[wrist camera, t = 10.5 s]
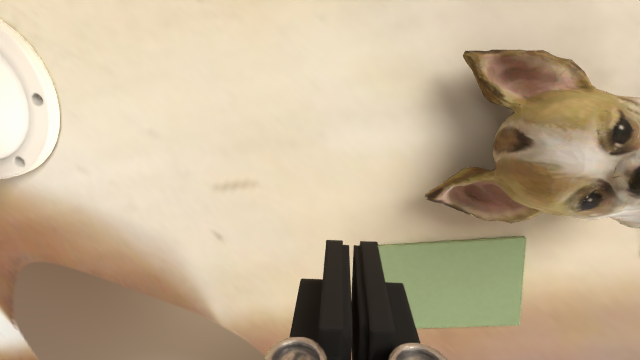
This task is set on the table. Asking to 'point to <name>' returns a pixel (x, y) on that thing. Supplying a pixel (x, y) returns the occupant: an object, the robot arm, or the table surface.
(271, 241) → the table surface
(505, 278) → the sage cloth
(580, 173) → the ceramic sculpture
